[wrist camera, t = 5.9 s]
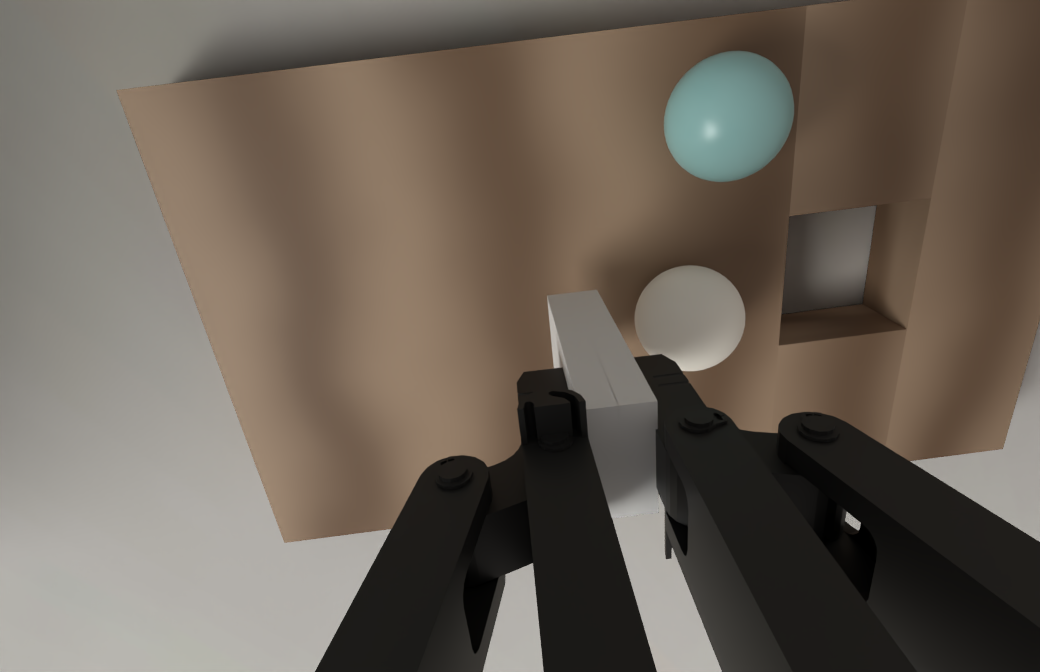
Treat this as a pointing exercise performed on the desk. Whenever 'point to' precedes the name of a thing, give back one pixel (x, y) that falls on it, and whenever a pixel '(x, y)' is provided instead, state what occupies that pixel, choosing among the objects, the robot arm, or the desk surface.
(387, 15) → the desk surface
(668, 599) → the desk surface
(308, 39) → the desk surface
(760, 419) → the board
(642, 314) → the ball
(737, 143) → the teal ball
